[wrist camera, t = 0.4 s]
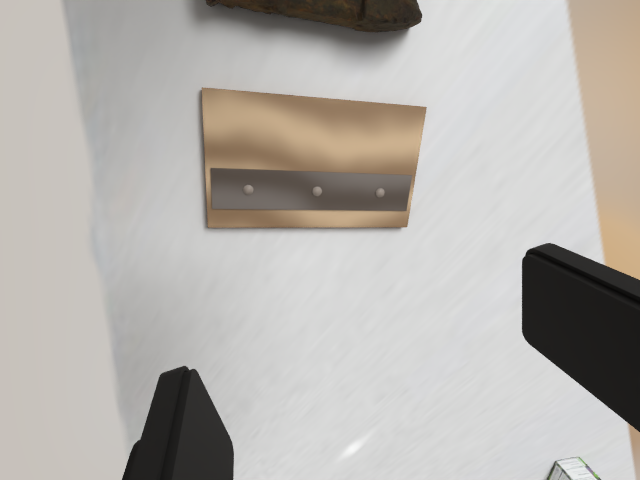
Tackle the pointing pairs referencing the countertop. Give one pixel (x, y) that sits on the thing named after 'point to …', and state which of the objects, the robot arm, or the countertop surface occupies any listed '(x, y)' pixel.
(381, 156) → the plywood panel
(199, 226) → the countertop surface
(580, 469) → the syrup box
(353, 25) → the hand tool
